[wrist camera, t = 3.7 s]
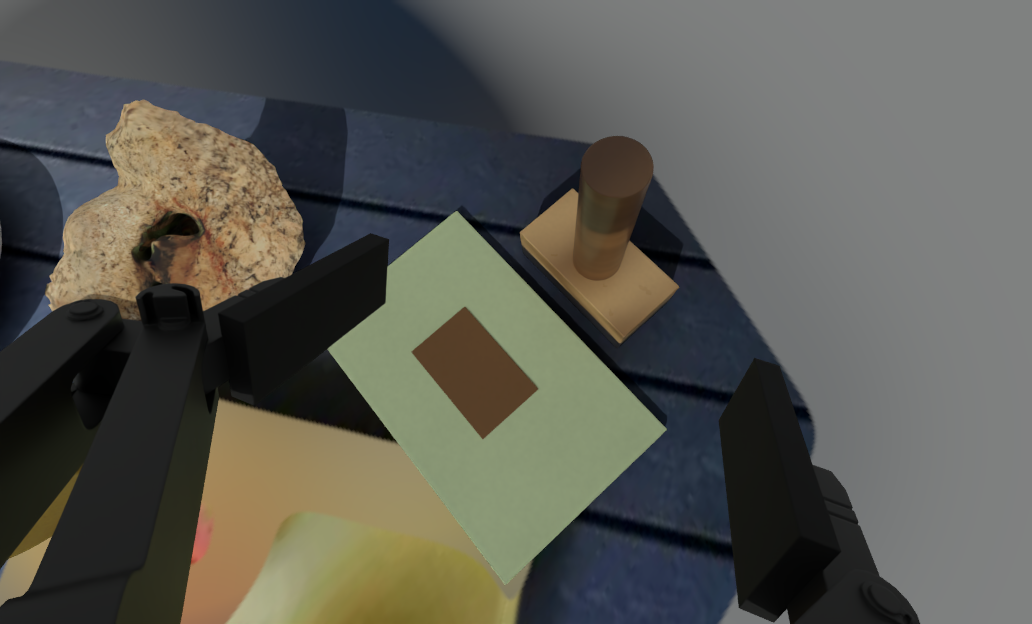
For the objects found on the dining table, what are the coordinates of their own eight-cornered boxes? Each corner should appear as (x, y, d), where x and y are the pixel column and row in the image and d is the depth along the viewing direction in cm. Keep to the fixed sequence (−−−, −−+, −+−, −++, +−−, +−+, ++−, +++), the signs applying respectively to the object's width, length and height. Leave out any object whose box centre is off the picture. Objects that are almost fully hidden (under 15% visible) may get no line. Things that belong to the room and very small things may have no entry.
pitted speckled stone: (290, 374, 40) (242, 404, 33) (122, 323, 39) (32, 342, 31) (347, 173, 38) (309, 156, 30) (170, 112, 37) (85, 78, 29)
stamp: (667, 302, 33) (744, 203, 19) (616, 348, 32) (660, 278, 19) (571, 211, 36) (580, 69, 22) (522, 253, 35) (502, 131, 22)
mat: (665, 429, 30) (667, 429, 30) (506, 582, 29) (505, 585, 28) (458, 213, 36) (456, 209, 36) (315, 329, 34) (310, 327, 34)
